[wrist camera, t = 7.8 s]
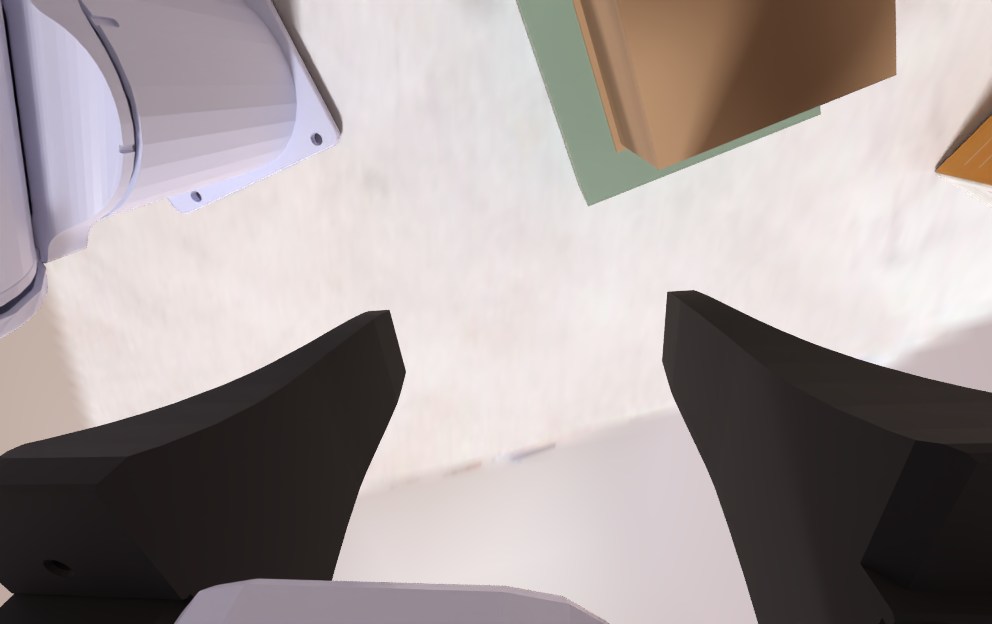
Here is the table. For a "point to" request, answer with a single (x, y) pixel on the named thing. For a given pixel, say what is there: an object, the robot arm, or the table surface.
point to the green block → (597, 104)
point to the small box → (972, 165)
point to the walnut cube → (730, 65)
